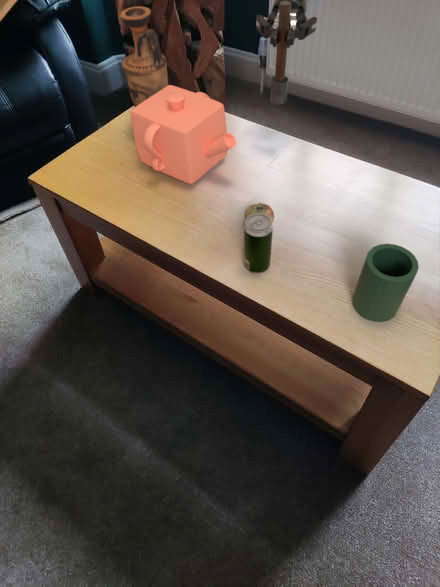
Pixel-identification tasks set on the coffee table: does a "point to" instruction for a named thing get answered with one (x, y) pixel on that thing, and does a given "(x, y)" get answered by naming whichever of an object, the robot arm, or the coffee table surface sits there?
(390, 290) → the green hollow cylinder
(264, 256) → the beer can
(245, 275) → the coffee table surface
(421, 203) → the coffee table surface
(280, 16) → the brush
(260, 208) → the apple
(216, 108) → the teapot
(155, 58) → the vase
